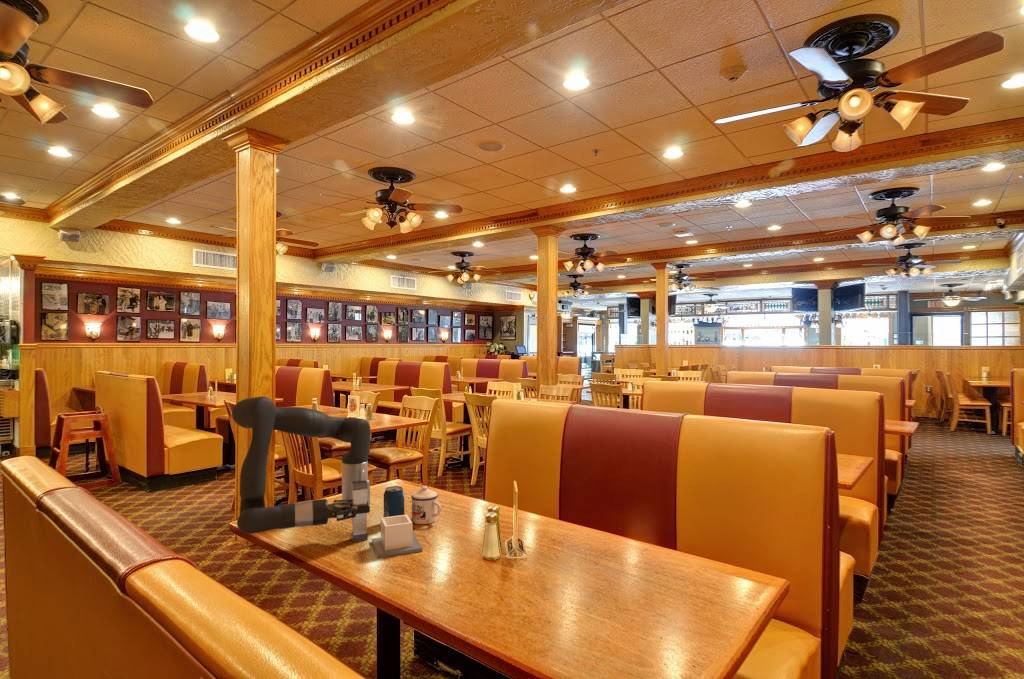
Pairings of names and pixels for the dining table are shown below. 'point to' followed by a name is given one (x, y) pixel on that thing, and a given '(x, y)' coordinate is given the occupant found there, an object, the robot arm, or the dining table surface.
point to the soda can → (393, 501)
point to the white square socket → (396, 537)
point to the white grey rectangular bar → (361, 519)
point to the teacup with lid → (425, 506)
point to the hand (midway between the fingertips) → (368, 506)
